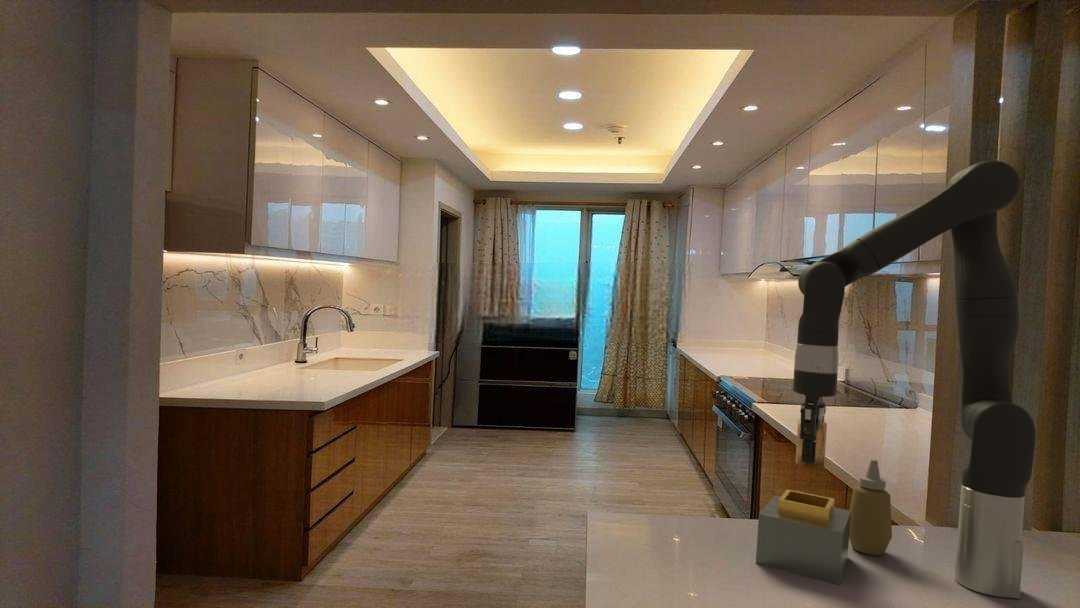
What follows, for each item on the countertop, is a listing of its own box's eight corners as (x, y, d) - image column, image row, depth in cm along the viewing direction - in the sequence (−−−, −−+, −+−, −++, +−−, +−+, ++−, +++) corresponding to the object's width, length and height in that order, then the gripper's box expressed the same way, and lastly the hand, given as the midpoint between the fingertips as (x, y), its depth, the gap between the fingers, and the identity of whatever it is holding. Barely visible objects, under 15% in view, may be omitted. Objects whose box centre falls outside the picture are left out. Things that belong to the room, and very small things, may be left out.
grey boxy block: (847, 557, 123) (851, 497, 123) (839, 584, 110) (843, 518, 110) (771, 539, 131) (775, 483, 130) (755, 562, 118) (759, 500, 118)
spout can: (826, 464, 121) (829, 411, 121) (822, 469, 117) (825, 414, 117) (797, 459, 124) (801, 407, 124) (793, 464, 119) (796, 411, 119)
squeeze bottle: (880, 544, 132) (886, 457, 131) (898, 560, 123) (904, 467, 123) (839, 540, 132) (845, 453, 132) (854, 556, 124) (861, 463, 124)
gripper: (833, 373, 112) (827, 470, 112) (841, 368, 125) (836, 456, 125) (787, 369, 116) (782, 463, 116) (800, 364, 128) (795, 449, 128)
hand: (810, 459), depth 120 cm, fingers closed on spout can, 5 cm apart
